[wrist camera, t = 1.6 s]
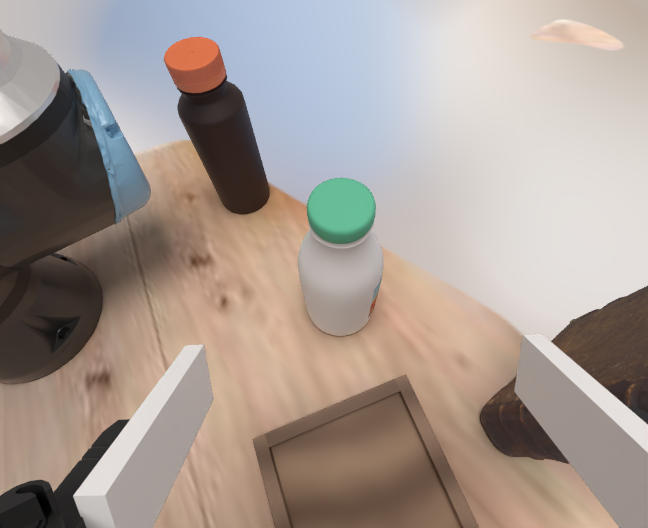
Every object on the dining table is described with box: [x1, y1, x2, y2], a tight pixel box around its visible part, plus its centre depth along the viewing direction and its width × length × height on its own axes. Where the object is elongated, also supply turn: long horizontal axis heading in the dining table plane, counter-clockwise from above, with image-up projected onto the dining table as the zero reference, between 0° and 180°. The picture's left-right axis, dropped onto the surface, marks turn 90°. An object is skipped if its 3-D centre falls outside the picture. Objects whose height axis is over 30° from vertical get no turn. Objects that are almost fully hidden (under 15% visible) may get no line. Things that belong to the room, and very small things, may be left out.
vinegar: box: [164, 37, 269, 213], centre depth 39 cm, size 7×7×20 cm
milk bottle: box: [298, 178, 383, 336], centre depth 31 cm, size 8×8×20 cm
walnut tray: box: [253, 375, 479, 528], centre depth 31 cm, size 16×16×2 cm
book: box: [480, 286, 648, 464], centre depth 25 cm, size 17×7×25 cm, turn 120°
